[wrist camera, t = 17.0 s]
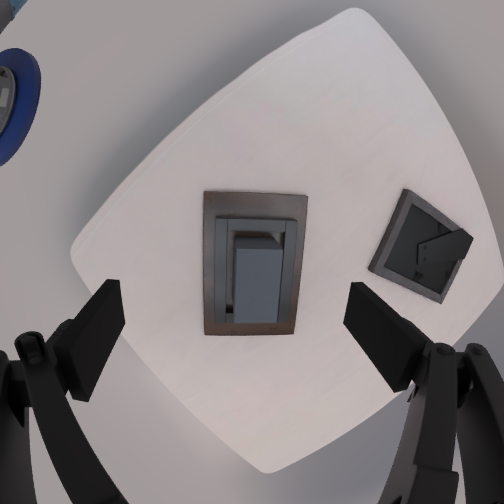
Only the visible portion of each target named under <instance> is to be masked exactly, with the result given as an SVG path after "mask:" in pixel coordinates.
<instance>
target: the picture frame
mask: <svg viewBox="0 0 504 504" xmlns="http://www.w3.org/2000/svg"><path fill="white" fill-rule="evenodd" d="M473 239H474V238H473V237H472V236H471V235H469V234H468V233H467V232H466V231H465V230H463V229H462V228H460V227H459V226H458V225H456V224H455V223H454V222H453V221H451V220H450V219H449V218H447V217H446V216H445V215H444V214H442V213H441V212H440V211H438V210H437V209H436V208H434V207H433V206H432V205H430V204H429V203H428V202H426V201H425V200H423V199H422V198H421V197H419V196H418V195H416V194H415V193H413V192H412V191H411V190H408V189H403V192H402V194H401V197H400V199H399V201H398V204H397V206H396V209H395V211H394V213H393V216H392V218H391V220H390V223H389V225H388V227H387V229H386V232H385V234H384V236H383V238H382V240H381V242H380V245H379V247H378V249H377V251H376V253H375V255H374V257H373V259H372V261H371V263H370V265H369V267H368V270H370V271H371V272H372V273H375V274H377V275H379V276H381V277H383V278H386V279H388V280H390V281H392V282H395V283H397V284H399V285H401V286H403V287H405V288H408V289H410V290H412V291H414V292H416V293H418V294H421V295H423V296H425V297H427V298H429V299H431V300H433V301H436V302H438V303H440V304H442V302H443V300H444V298H445V296H446V294H447V292H448V290H449V288H450V286H451V284H452V282H453V280H454V278H455V276H456V274H457V272H458V270H459V268H460V265H461V263H462V261H463V259H465V257H466V254H467V252H468V250H469V248H470V246H471V243H472V241H473Z"/></svg>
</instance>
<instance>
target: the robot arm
mask: <svg viewBox="0 0 504 504" xmlns="http://www.w3.org/2000/svg"><path fill="white" fill-rule="evenodd" d="M26 2H27V0H0V34H1V33H2V31H3V30H4V29H5V27H6V26H7V25H8V24H9V22H10V21H12V20H13V19H14V18H15V15H16V14H17V12H18V11H19V10H20V9H21V8H22V6H23V5H24V4H25V3H26ZM17 95H18V82H17V77H16V75H15V73H14V72H13V70H11V69H10V68H7V67H5V66H0V137H1V136H2V135H3V133H4V132H5V130H6V128H7V126H8V124H9V122H10V120H11V118H12V115H13V112H14V109H15V106H16V101H17ZM343 324H344V325H345V326H346V328H347V329H348V330H349V332H350V333H351V334H352V336H353V337H354V338H355V340H356V341H357V342H358V344H359V345H360V346H361V348H362V349H363V350H364V352H365V353H366V354H367V356H368V357H369V359H370V360H371V361H372V363H373V364H374V365H375V367H376V368H377V370H378V371H379V372H380V374H381V375H382V376H383V378H384V379H385V381H386V382H387V383H388V385H389V386H390V388H391V389H392V390H393V392H394V393H395V392H399V391H403V390H407V388H408V386H409V384H410V382H411V380H413V382H414V383H415V384H416V385H415V387H414V389H413V391H412V393H411V395H410V397H409V399H408V401H407V402H410V405H409V410H408V414H407V418H406V422H405V426H404V430H403V433H402V437H401V440H400V444H399V447H398V451H397V454H396V457H395V460H394V463H393V465H392V468H391V471H390V474H389V477H388V479H387V482H386V485H385V487H384V490H383V492H382V495H381V497H380V500H379V502H378V504H455V499H456V493H457V488H458V481H459V474H458V472H454V471H452V464H453V455H454V447H455V437H456V433H457V438H458V443H459V449H460V454H461V461H462V468H463V476H464V485H465V496H466V504H504V382H503V379H502V378H501V375H500V373H499V371H498V369H497V367H496V366H495V364H494V362H493V360H492V358H491V357H490V354H489V353H488V351H487V350H486V348H484V347H483V346H482V345H479V344H476V343H470V344H468V345H467V347H466V349H465V351H464V352H455V350H454V349H453V347H451V346H450V345H448V344H445V343H434V342H433V341H431V340H430V339H429V338H428V337H427V336H426V335H425V334H424V333H423V332H421V330H420V329H418V328H417V327H416V326H415V325H414V324H413V323H412V322H411V321H409V320H407V319H405V318H402V317H401V316H400V315H399V314H398V313H397V312H396V311H394V310H393V309H392V308H391V307H390V306H389V305H388V304H387V303H386V302H385V301H383V300H382V299H381V298H380V297H379V296H378V295H377V294H376V293H374V292H373V291H372V290H371V289H370V288H369V287H368V286H366V285H365V284H364V283H363V282H351V287H350V292H349V298H348V303H347V307H346V312H345V317H344V322H343ZM124 325H125V318H124V311H123V304H122V297H121V289H120V281H119V280H114V279H107V280H106V281H105V282H104V283H103V284H102V286H101V287H100V288H99V289H98V290H97V291H96V293H95V294H94V295H93V296H92V297H91V299H90V300H89V301H88V302H87V303H86V305H85V306H84V307H83V308H82V309H81V311H80V312H79V313H78V314H77V316H76V317H75V318H74V319H68V320H66V321H64V322H63V323H61V324H60V325H59V327H58V328H57V329H56V331H54V333H53V334H52V336H51V337H50V338H49V339H48V340H47V342H46V343H45V342H44V339H43V336H42V335H41V333H39V332H35V331H30V332H26V333H23V334H21V335H20V336H18V337H17V338H16V340H15V343H14V344H15V347H16V350H17V352H18V355H19V358H20V360H17V361H16V360H15V361H14V360H13V361H9V359H8V357H7V354H6V353H5V352H4V351H2V350H0V504H37V501H36V495H35V489H34V482H33V474H32V466H31V455H30V439H29V407H32V408H33V411H34V414H35V418H36V420H37V424H38V427H39V430H40V433H41V435H42V438H43V441H44V443H45V446H46V449H47V451H48V453H49V456H50V458H51V461H52V463H53V465H54V467H55V470H56V472H57V474H58V476H59V478H60V480H61V482H62V484H63V486H64V488H65V490H66V492H67V494H68V496H69V498H70V500H71V501H72V503H73V504H129V503H128V502H127V500H126V499H125V498H124V496H123V495H122V494H121V492H120V491H119V489H118V488H117V487H116V485H115V484H114V482H113V481H112V479H111V478H110V476H109V475H108V474H107V472H106V471H105V469H104V467H103V466H102V465H101V463H100V461H99V459H98V458H97V456H96V454H95V453H94V451H93V449H92V448H91V446H90V444H89V442H88V441H87V439H86V437H85V435H84V433H83V431H82V430H81V428H80V426H79V424H78V422H77V420H76V418H75V416H74V414H73V412H72V409H71V407H70V405H69V403H68V401H67V399H66V397H65V395H66V393H67V391H68V390H69V391H70V393H71V396H72V398H73V399H74V400H79V401H84V402H89V399H90V397H91V395H92V392H93V390H94V388H95V386H96V383H97V381H98V379H99V377H100V375H101V372H102V370H103V368H104V366H105V364H106V362H107V359H108V357H109V355H110V353H111V351H112V349H113V347H114V345H115V343H116V341H117V339H118V337H119V335H120V333H121V331H122V329H123V327H124ZM410 400H411V401H410Z"/></svg>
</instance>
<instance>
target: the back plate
mask: <svg viewBox="0 0 504 504" xmlns="http://www.w3.org/2000/svg"><path fill="white" fill-rule="evenodd" d="M307 202H308V196H306V195H291V194H273V193H251V192H218V191H205V192H204V213H203V295H204V333H205V335H218V336H249V335H288V334H294V328H295V320H296V312H297V304H298V296H299V287H300V278H301V269H302V259H303V249H304V238H305V227H306V215H307ZM234 236H254V237H274V238H275V239H276V241H277V242H278V244H279V245H280V246H281V248H282V249H283V259H282V271H281V282H280V293H279V303H278V313H277V323H234V314H233V303H232V294H233V262H234Z"/></svg>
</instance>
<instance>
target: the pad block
mask: <svg viewBox="0 0 504 504" xmlns="http://www.w3.org/2000/svg"><path fill="white" fill-rule="evenodd" d="M282 259H283V249H282V248H281V246H280V245H279V244H278V242H277V241H276V239H275V238H274V237H254V236H234V262H233V294H232V303H233V314H234V323H277V313H278V303H279V293H280V282H281V271H282Z"/></svg>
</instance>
